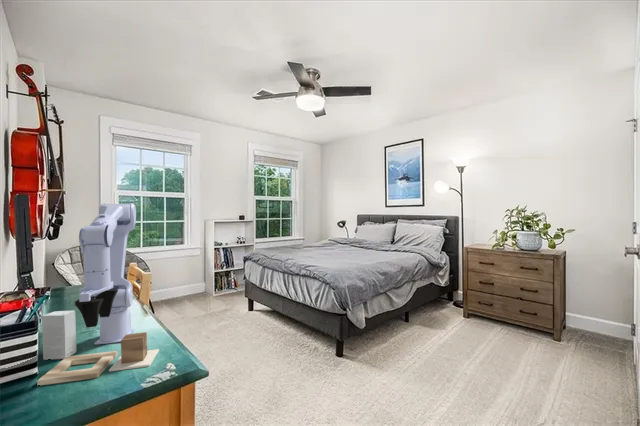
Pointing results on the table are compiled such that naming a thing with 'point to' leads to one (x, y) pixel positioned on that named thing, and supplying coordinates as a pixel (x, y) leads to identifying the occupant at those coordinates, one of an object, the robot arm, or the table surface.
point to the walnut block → (133, 347)
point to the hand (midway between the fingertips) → (98, 321)
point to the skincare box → (59, 334)
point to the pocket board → (61, 375)
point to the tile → (139, 364)
